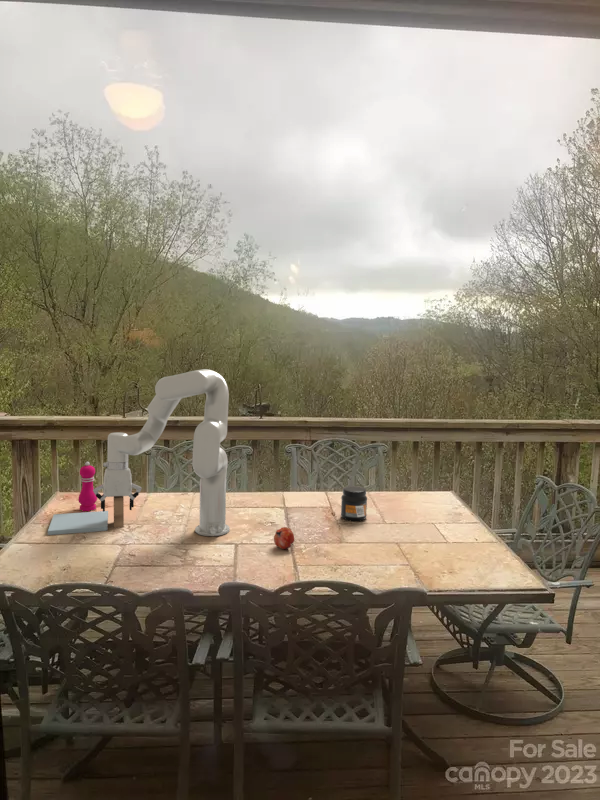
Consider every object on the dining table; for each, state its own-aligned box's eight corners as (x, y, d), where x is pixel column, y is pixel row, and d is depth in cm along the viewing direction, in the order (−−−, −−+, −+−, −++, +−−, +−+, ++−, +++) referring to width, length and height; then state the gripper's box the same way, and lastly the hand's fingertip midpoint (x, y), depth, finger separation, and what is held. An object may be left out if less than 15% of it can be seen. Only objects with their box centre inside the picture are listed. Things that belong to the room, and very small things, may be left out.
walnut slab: (123, 527, 205) (123, 498, 204) (113, 527, 204) (113, 499, 203) (123, 521, 212) (123, 493, 211) (113, 522, 211) (113, 494, 210)
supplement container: (363, 523, 217) (364, 493, 216) (337, 519, 220) (338, 490, 219) (368, 515, 227) (370, 487, 226) (344, 512, 230) (345, 484, 229)
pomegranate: (282, 549, 193) (263, 536, 188) (294, 531, 194) (276, 518, 189) (293, 558, 187) (274, 545, 182) (305, 540, 188) (287, 527, 183)
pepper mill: (90, 505, 231) (90, 459, 229) (100, 509, 227) (100, 461, 225) (74, 509, 225) (74, 461, 223) (85, 513, 221) (84, 464, 219)
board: (107, 530, 201) (107, 526, 201) (47, 535, 195) (47, 531, 195) (108, 514, 220) (108, 510, 220) (53, 518, 214) (53, 514, 214)
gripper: (92, 468, 200) (92, 514, 201) (142, 467, 205) (141, 511, 207) (93, 463, 207) (93, 508, 208) (141, 462, 212) (140, 505, 214)
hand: (117, 509), depth 208 cm, fingers open, 9 cm apart
